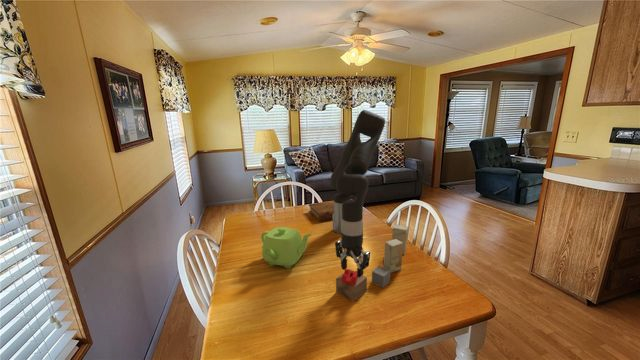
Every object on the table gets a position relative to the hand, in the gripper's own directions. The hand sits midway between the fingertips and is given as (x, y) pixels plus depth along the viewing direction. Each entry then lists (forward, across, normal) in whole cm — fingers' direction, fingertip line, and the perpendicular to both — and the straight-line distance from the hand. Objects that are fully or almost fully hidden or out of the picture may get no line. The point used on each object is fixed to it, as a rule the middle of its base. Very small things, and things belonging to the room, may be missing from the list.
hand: (351, 272), depth 97 cm
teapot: (+8, -33, -5) cm, 34 cm away
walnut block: (+8, 0, 0) cm, 8 cm away
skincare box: (+8, +4, +23) cm, 25 cm away
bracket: (+3, 0, 0) cm, 3 cm away
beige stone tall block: (+8, -1, +38) cm, 39 cm away
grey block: (+8, +5, +12) cm, 15 cm away
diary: (+9, -56, +52) cm, 77 cm away
